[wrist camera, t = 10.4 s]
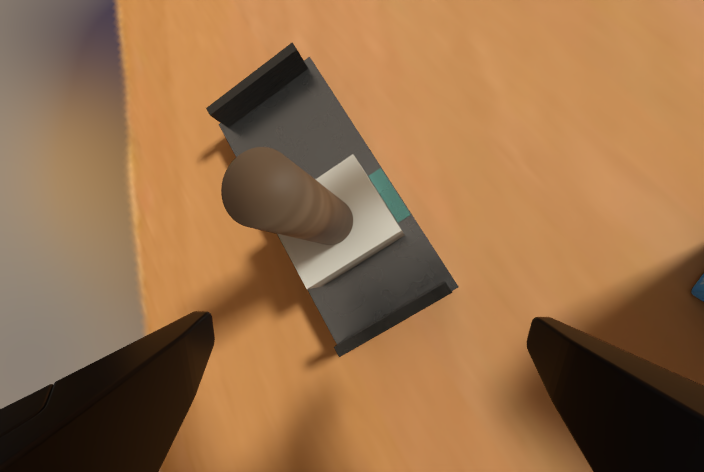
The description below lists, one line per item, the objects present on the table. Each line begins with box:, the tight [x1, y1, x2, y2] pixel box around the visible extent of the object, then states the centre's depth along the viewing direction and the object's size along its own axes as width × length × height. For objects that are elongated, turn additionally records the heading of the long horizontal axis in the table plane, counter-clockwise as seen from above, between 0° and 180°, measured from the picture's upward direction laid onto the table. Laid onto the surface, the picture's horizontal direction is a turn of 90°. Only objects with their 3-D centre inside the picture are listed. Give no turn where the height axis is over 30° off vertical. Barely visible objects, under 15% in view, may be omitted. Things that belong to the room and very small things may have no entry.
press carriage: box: [221, 147, 405, 289], centre depth 15 cm, size 5×6×10 cm
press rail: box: [206, 43, 458, 357], centre depth 21 cm, size 18×8×4 cm, turn 31°
